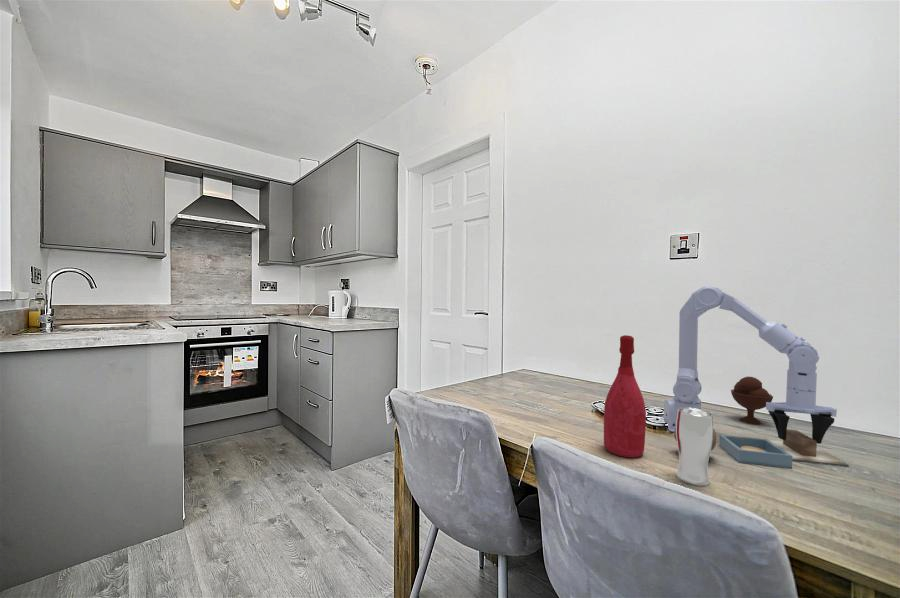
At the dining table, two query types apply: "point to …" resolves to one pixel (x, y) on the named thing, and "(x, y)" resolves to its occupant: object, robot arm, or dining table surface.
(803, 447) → the lid
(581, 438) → the dining table surface
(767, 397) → the ice cream bowl
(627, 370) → the wine bottle
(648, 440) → the dining table surface
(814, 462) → the mat
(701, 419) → the beer glass
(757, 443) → the dish
